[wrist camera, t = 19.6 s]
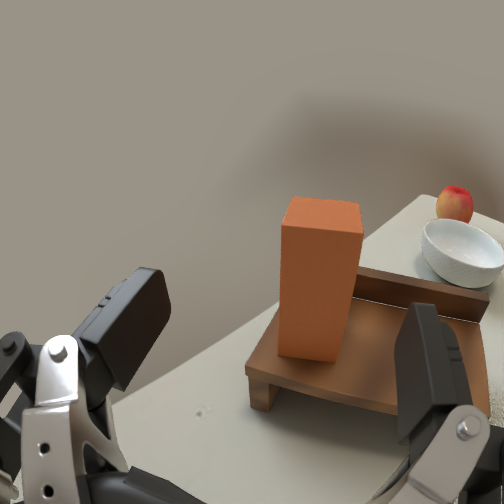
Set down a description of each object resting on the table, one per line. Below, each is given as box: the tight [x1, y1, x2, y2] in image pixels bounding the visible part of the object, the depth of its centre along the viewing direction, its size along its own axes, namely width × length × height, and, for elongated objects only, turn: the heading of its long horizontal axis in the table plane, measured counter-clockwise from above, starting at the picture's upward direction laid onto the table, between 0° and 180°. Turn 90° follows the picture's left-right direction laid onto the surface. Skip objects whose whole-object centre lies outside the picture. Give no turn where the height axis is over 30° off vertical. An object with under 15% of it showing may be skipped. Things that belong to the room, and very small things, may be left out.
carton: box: [277, 197, 364, 363], centre depth 23 cm, size 5×5×12 cm
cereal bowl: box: [421, 219, 504, 288], centre depth 44 cm, size 17×17×7 cm
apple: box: [436, 185, 473, 224], centre depth 58 cm, size 10×10×10 cm
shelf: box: [245, 266, 490, 419], centre depth 26 cm, size 22×14×11 cm, turn 66°
